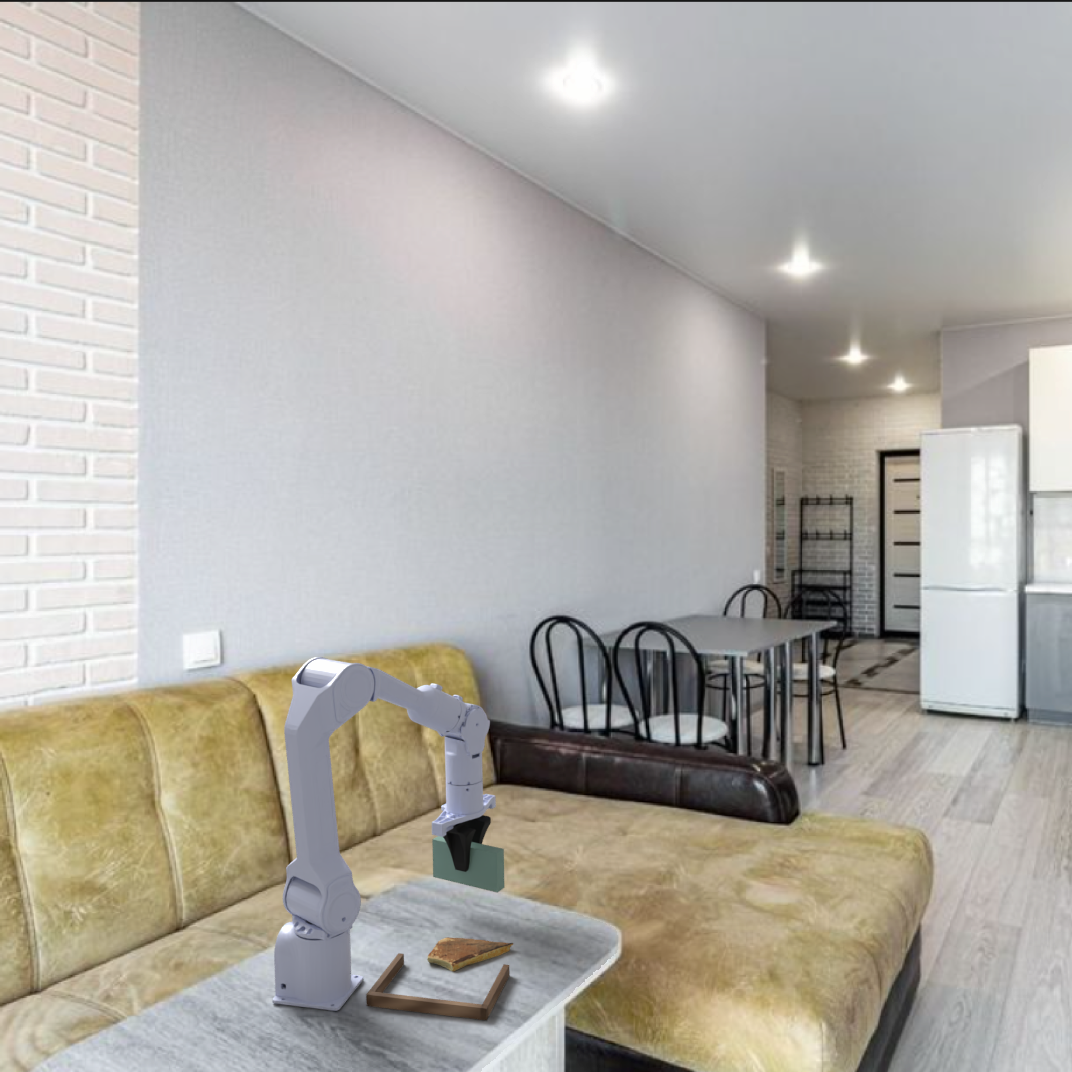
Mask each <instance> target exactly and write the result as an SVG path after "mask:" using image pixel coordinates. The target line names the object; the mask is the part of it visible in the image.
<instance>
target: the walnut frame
mask: <svg viewBox="0 0 1072 1072" xmlns="http://www.w3.org/2000/svg"><path fill="white" fill-rule="evenodd" d="M404 965H405V954H404V953H400V952H398V953H397V954H396V956H395V957H394V959H392V960H391V962H390V964H389V965H388V966H387V967H386V968H385V970H384V971H383V972H382V974H381V975H380V976H379V977H378V979H377V980H376V982H375V983H374V984H373V985H372V986H371V988H370V989H369V990H368V992H367V993H366V994H365V996H366V997H365V998H366V999H365V1000H366V1001H365V1002H366V1004H365V1005H366V1007H371V1008H372V1007H373V1008H382V1009H390V1010H396V1011H397V1010H398V1011H406V1012H413V1013H414V1012H415V1013H422V1014H431V1015H437V1016H438V1015H440V1016H447V1017H448V1016H449V1017H455V1018H463V1019H470V1020H471V1019H473V1020H480V1021H488V1018H489V1016H490V1015H491V1013H492V1011H493V1009H494V1007H495V1005H496V1004H497V1001H498V1000H499V997H500V995H501V993H502V991H503V989H504V987H505V986H506V983H507V982H508V980H509V978H510V964H505V963H504V964H503V965H502V967H501V969H500V971H499V972H498V974H497V976H496V978H495V979H494V982H493V983H492V985H491V988H489V991H488V992H487V995H486V997H485V999H484V1000H483V1003H482V1004H481V1003H473V1002H467V1001H466V1002H465V1001H457V1000H448V999H439V998H429V997H422V996H413V995H404V994H395V993H387V992H385V990H386V989H387V988H388V986H389V985H390V984H391V983H392V981H393V980H394V979H395V977H396V976H397V975H398V973H399V972H400V970H401V969H402V967H403V966H404Z"/></svg>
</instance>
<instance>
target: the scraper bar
mask: <svg viewBox="0 0 1072 1072" xmlns="http://www.w3.org/2000/svg"><path fill="white" fill-rule="evenodd" d="M431 843H432V845H431V846H432V877H433V878H435V879H436V878H437V879H440V880H445V881H448V882H453V883H457V884H460V885H465V886H469V887H473V888H476V889H481V890H484V891H485V890H486V891H489V892H494V893H499V892H500V891H502V890H503V889H505V888H506V887H505V886H506V885H505V851H504V850H505V848H503V847H502V848H501V847H497V846H492V845H488V844H484V843H482V844H479V843H474V842H472V843H471V848H470V863H469V869H468V871H466V872H463V871H459V870H455V867H454V863H453V860H452V856H451V853H450V850H449V847H448V845H447V843H446V841H445V839H444V838H443V837H441V836H435V837H434V838H432V841H431Z"/></svg>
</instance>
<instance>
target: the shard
mask: <svg viewBox="0 0 1072 1072" xmlns="http://www.w3.org/2000/svg"><path fill="white" fill-rule="evenodd" d="M513 945H514V942H503V941H490V940H486V939H475V938H464V937H445V938H441V939H440V940H438V941H437V942H436V943H435V946H434V947H433V949H432V950H431V951H430V952H429V953H428V955H427V959H426V960H427V962H428V963H429V964H435V965H438V966H441V967H443V968H445V969H447V970H449V971H451V972H452V973H453V972H456V971H458V970H459V969H462V968H464V967H465V966H468V965H474V964H476V963H479V962H480V963H481V962H483V961H486V960H490V959H493V958H496V957H499V956H501V955H503V954H505V953H507V952H510V951H511V947H512V946H513Z"/></svg>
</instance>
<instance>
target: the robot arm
mask: <svg viewBox="0 0 1072 1072" xmlns="http://www.w3.org/2000/svg"><path fill="white" fill-rule="evenodd" d="M291 687H292V698H291V702H290V705H289V709H288V712H287V715H286V716H287V717H286V719H285V721H284V722H285V723H284V728H283V730H284V742H285V743H284V744H285V753H286V761H287V771H288V772H287V773H288V783H289V791H290V793H289V794H290V799H291V800H290V803H291V812H292V813H291V815H292V823H293V833H294V834H293V835H294V841H295V842H294V843H295V851H296V857H295V859H293V860H292V861H291V862H290V863H289V864H287V866H286V868H285V871H286V881H285V885H284V888H283V891H282V904H283V907H284V909H285V910H286V911H287V912H288V913H289V914H290V915H291V918H292V919H291V921H289V922H286V923H285V924H284V925H282V927H281V928H280V930H279V932H278V933H277V936H276V939H275V940H276V941H275V945H274V951H273V953H274V954H273V955H274V956H273V959H274V961H273V962H274V989H275V991H274V992H275V993H274V995H275V996H273V998H272V1003H273V1004H278V1005H286V1006H295V1007H303V1008H311V1009H320V1010H328V1011H333V1012H335V1011H339V1010H340V1009H341V1008H342V1007H343V1006H344V1004H345V1003H346V1001H348V1000H349V998H350V997H351V996H352V995H353V994H354V992H355V991H356V990H357V988H358V987H359V986H360V984H361V983H363V981H364V976H363V975H360V974H352V956H351V955H352V952H351V930H352V929H353V925H354V923H355V922H356V920H357V918H358V916H359V913H360V910H361V907H362V898H361V893H360V892H359V890H358V888H357V887H356V885H355V883H354V880H353V872H352V870H351V868H350V866H349V865H348V863H347V862H346V860H345V859H344V858H343V855H341V853H340V843H339V834H338V823H337V822H338V821H337V814H336V813H337V812H336V803H335V802H336V801H335V800H336V799H335V791H334V782H333V781H334V779H333V770H332V769H333V768H332V761H331V759H332V758H331V749H330V738H331V736H332V735H333V733H334V732H335V731H336V730H338V729H339V728H340V727H342V726H343V725H344V724H346V722H347V721H349V720H350V719H352V718H353V717H354V716H355V715H356V714H359V712H360V711H362V710H363V709H364V708H365V707H366V706H367V705H368V703H369V702H374V703H375V702H377V700H378V699H379V700H382V701H383V702H387V703H389V704H393V705H395V706H397V707H401V708H403V709H406V712H407V716H408V718H409V719H410V720H411V721H412V722H413V723H416V724H418V725H420V726H423V727H426V728H429V729H430V730H432V731H435V732H437V734H438V735H439V736H440V737H444V761H445V762H444V763H445V765H444V767H445V768H444V769H445V803H444V804H442V805H441V806H440V807H441V808H440V809H441V813H440V815H438V816H437V818H436V819H434V820H433V821H431V835H432V836H435V837H437V836H441V837H443V838H444V839H445V841H446V843H447V845H448V847H449V850H450V853H451V856H452V860H453V863H454V867H455V870H459V871H463V872H466V871H468V869H469V863H470V848H471V843H472V842H474V843H479V844H483V842H484V839H485V835H486V833H487V831H488V829H489V826H490V825H491V824H492V820H491V819H492V818H491V816H489V815H484V814H486V812H487V810H489V809H490V810H493V809H494V808H497V803H496V802H497V801H496V795H494V794H488V793H485V794H484V782H483V781H484V780H483V779H484V778H483V751H484V750H485V749H484V748H485V747H486V745H485V744H486V742H485V741H486V737H487V734H488V733H489V729H490V725H491V720H490V719H488V716H487V713H486V712H485V711H484V708H483V707H481V706H480V705H478V704H473V703H468V702H465V701H463V699H464V698H463V697H462V696H461V695H459V694H453V695H451V694H449V693H446V692H445V691H443V686H442V685H441V684H438V683H430V684H424V685H421V686H419V687H414V686H412V685H410V684H408V683H407V682H405V681H402V680H401V679H399V678H397V677H395V676H393V675H391V674H389V673H388V672H385V671H383V670H382V669H379V668H377V667H376V668H375V667H372V666H367V665H365V664H363V663H359V662H347V661H339V660H334V659H329V658H326V657H323V656H316V657H312V658H310V659H308V660H307V661H306V662H304V663H303V664H302V666H301V667H300V668H299V669H298V671H297V672H296V673H295V675H294V676H292V678H291Z"/></svg>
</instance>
